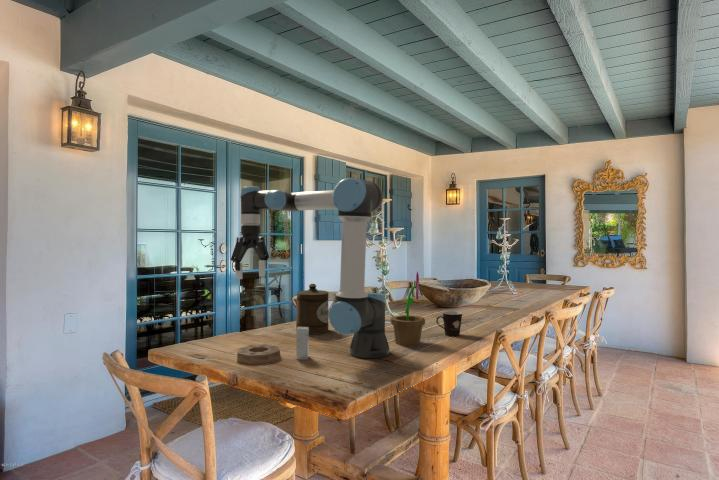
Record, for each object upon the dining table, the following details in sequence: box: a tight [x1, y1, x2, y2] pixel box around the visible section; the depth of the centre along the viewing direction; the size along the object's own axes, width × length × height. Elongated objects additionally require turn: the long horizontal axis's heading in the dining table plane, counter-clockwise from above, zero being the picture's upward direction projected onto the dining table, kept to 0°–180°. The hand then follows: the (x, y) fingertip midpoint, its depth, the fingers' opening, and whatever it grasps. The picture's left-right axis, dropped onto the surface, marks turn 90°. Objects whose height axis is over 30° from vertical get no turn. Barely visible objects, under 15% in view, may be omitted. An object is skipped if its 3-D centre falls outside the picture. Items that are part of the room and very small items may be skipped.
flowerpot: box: [390, 271, 426, 347], centre depth 188 cm, size 14×14×30 cm
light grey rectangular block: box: [295, 327, 310, 361], centre depth 165 cm, size 4×4×11 cm
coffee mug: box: [436, 310, 463, 338], centre depth 203 cm, size 12×9×10 cm
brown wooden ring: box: [236, 343, 281, 365], centre depth 165 cm, size 15×15×3 cm
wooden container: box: [295, 283, 329, 336], centre depth 210 cm, size 15×15×22 cm
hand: (251, 277), depth 183 cm, fingers open, 13 cm apart
